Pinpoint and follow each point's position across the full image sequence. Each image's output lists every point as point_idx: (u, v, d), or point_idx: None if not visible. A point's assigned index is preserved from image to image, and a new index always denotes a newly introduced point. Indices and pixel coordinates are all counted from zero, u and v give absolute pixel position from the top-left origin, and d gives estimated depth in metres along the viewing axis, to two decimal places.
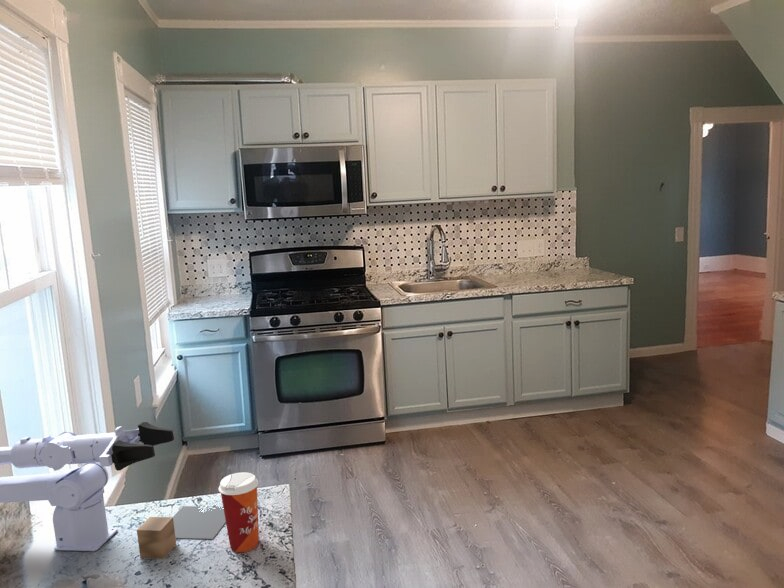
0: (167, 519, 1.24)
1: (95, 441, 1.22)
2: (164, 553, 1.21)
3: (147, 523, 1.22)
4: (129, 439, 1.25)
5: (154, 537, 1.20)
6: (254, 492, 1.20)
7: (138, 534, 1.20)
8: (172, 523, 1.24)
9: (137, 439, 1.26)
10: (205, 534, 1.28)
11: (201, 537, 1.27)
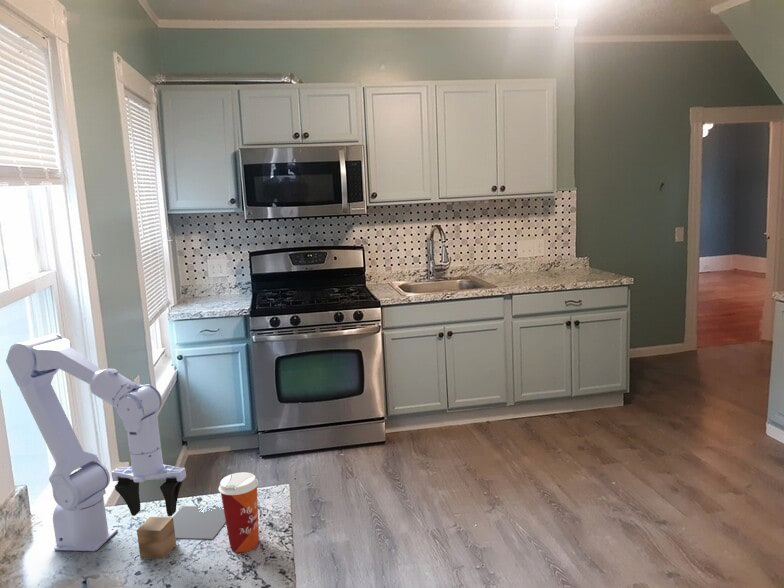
0: (167, 519, 1.24)
1: (130, 455, 1.18)
2: (164, 553, 1.21)
3: (147, 523, 1.22)
4: None
5: (154, 537, 1.20)
6: (254, 492, 1.20)
7: (138, 534, 1.20)
8: (172, 523, 1.24)
9: None
10: (205, 534, 1.28)
11: (201, 537, 1.27)
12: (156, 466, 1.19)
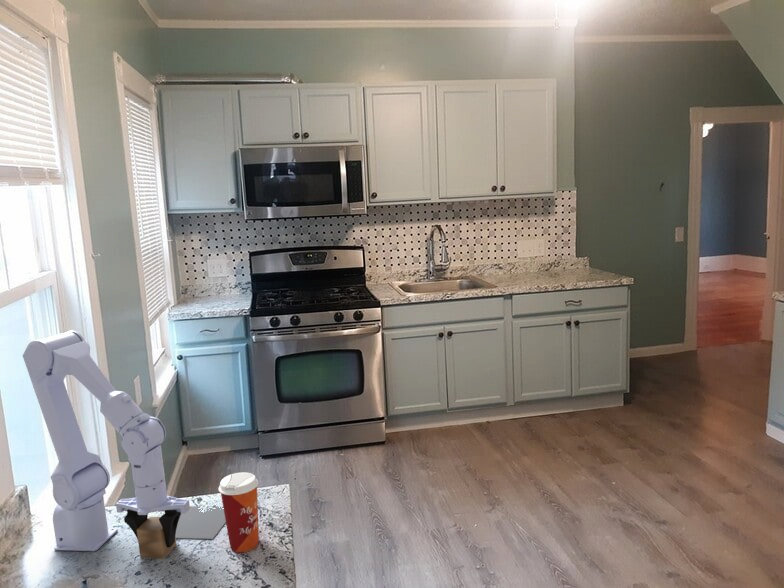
0: None
1: (135, 487, 1.19)
2: (164, 553, 1.21)
3: (147, 523, 1.22)
4: None
5: (154, 536, 1.20)
6: (254, 492, 1.20)
7: (138, 534, 1.20)
8: None
9: None
10: (205, 534, 1.28)
11: (201, 537, 1.27)
12: (160, 498, 1.20)
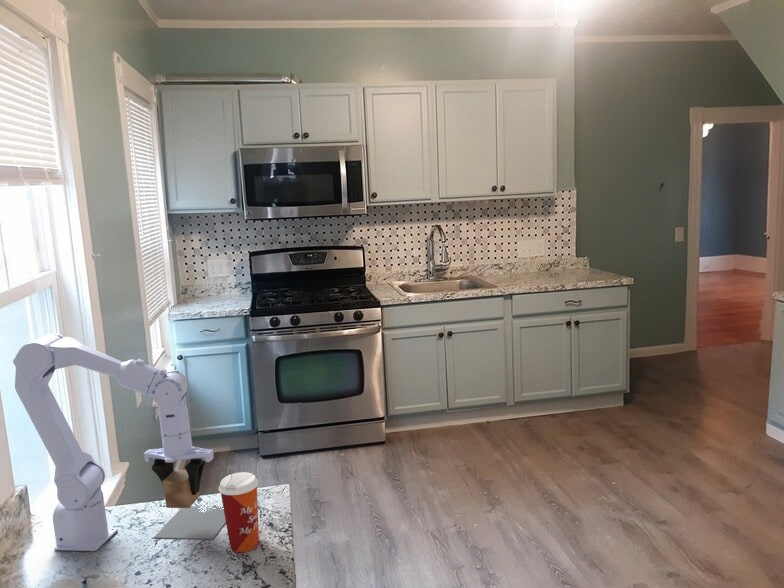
0: None
1: (162, 436, 1.25)
2: (189, 503, 1.27)
3: (172, 475, 1.28)
4: None
5: (179, 487, 1.26)
6: (254, 492, 1.20)
7: (164, 485, 1.26)
8: None
9: None
10: (205, 534, 1.28)
11: (201, 537, 1.27)
12: (186, 447, 1.26)
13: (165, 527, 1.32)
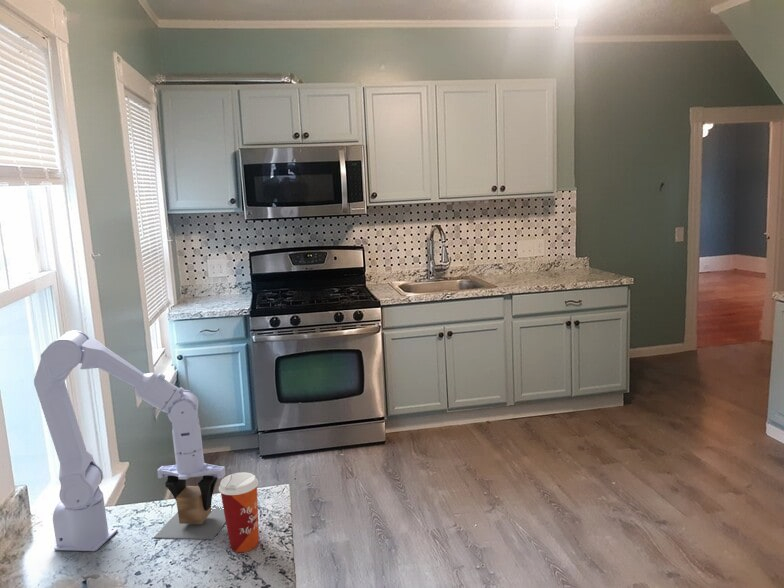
0: None
1: (175, 454, 1.29)
2: (201, 518, 1.30)
3: (185, 491, 1.32)
4: None
5: (192, 503, 1.29)
6: (254, 492, 1.20)
7: (177, 501, 1.30)
8: None
9: None
10: (205, 534, 1.28)
11: (201, 537, 1.27)
12: (198, 464, 1.30)
13: (165, 527, 1.32)
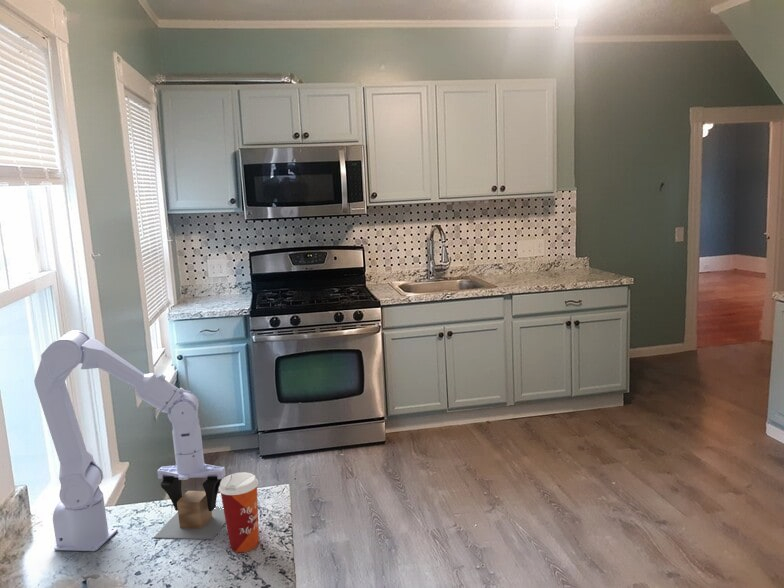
0: (204, 492, 1.33)
1: (175, 455, 1.29)
2: (202, 523, 1.30)
3: (186, 496, 1.32)
4: None
5: (193, 508, 1.30)
6: (254, 492, 1.20)
7: (178, 506, 1.30)
8: None
9: None
10: (205, 534, 1.28)
11: (201, 537, 1.27)
12: (198, 465, 1.30)
13: (165, 527, 1.32)
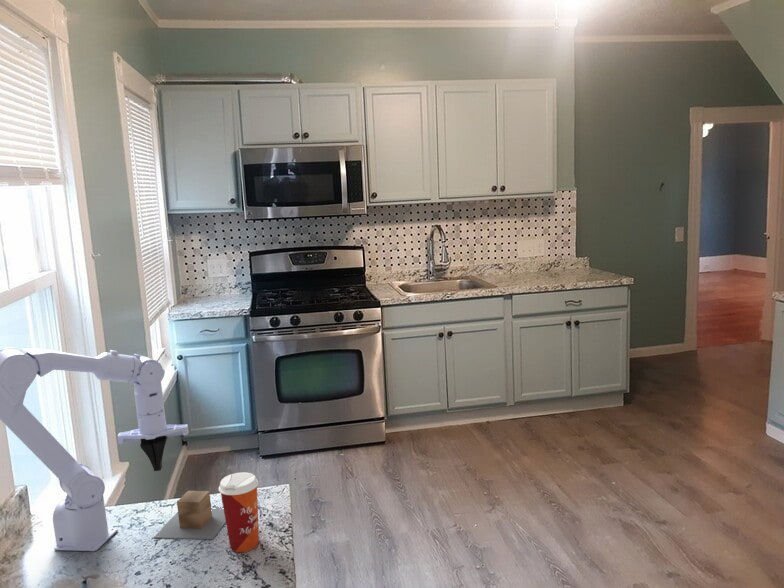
0: (204, 492, 1.33)
1: (140, 416, 1.33)
2: (202, 523, 1.30)
3: (186, 496, 1.32)
4: None
5: (193, 508, 1.30)
6: (254, 492, 1.20)
7: (178, 506, 1.30)
8: (208, 496, 1.34)
9: None
10: (205, 534, 1.28)
11: (201, 537, 1.27)
12: (163, 424, 1.35)
13: (165, 527, 1.32)
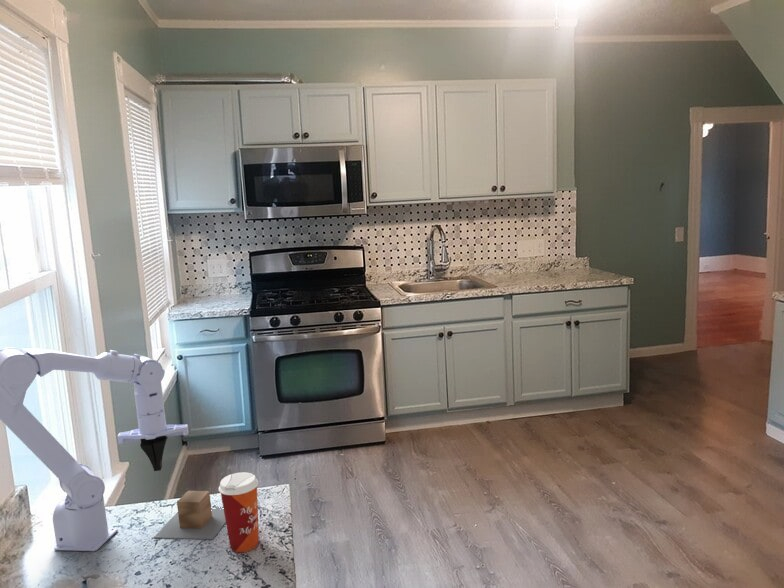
0: (204, 492, 1.33)
1: (140, 416, 1.33)
2: (202, 523, 1.30)
3: (186, 496, 1.32)
4: None
5: (193, 508, 1.30)
6: (253, 492, 1.20)
7: (178, 506, 1.30)
8: (208, 496, 1.34)
9: None
10: (205, 534, 1.28)
11: (201, 537, 1.27)
12: (163, 424, 1.35)
13: (165, 527, 1.32)
